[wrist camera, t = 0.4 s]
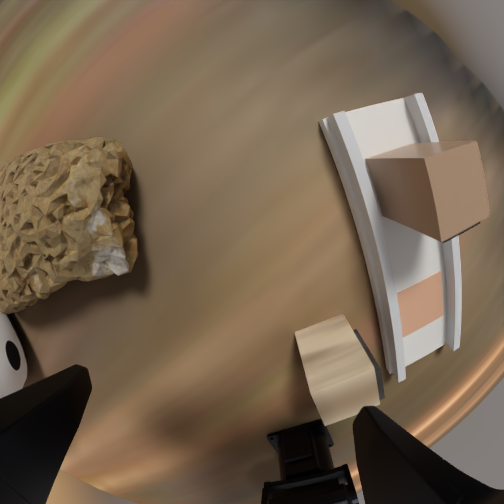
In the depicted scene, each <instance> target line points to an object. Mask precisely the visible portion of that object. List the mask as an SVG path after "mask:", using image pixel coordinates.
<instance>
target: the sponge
mask: <svg viewBox="0 0 504 504" xmlns="http://www.w3.org/2000/svg"><path fill="white" fill-rule="evenodd" d="M131 172H132V163H131V161H130V159H129V157H128V156H127V152H126V151H125V149H124V148H123V146H122V145H121V143H119V142H117V141H116V140H114V139H108V138H103V137H94V138H89V139H84V140H67V141H59V142H54V143H50V144H47V145H46V146H44V147H41V148H37V149H34V150H31V151H28V152H25V153H24V155H20V156H17V157H15V158H14V159H13V160H12V161H11V162H9V161H7V162H6V164H5V166H4V167H3V168H2V170H1V171H0V312H1V313H3V314H10V313H13V312H14V313H15V312H18V311H21V310H23V309H26V308H27V307H28V306H30V307H31V306H32V305H34V304H35V303H36V302H37V301H38V300H39V299H43V300H44V299H46V298H48V297H49V295H50V294H51V293H53V292H55V291H57V290H58V289H60V288H62V287H63V286H64V285H65V284H66V283H67V282H69V281H72V280H76V279H77V280H81V281H85V282H86V281H92V280H96V279H101V278H106V277H109V276H111V275H112V274H114V273H115V274H116V275H117V276H119V275H123V274H127V273H131V271H132V268H133V266H134V263H135V260H136V258H137V256H138V254H139V253H138V251H137V238H136V237H135V236H134V234H133V231H134V224H135V222H134V221H133V220H132V217H133V214H134V213H133V211H132V210H131V209H130V206H129V202H128V199H127V198H125V197H124V194H125V193H126V190H129V188H130V177H131Z"/></svg>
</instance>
